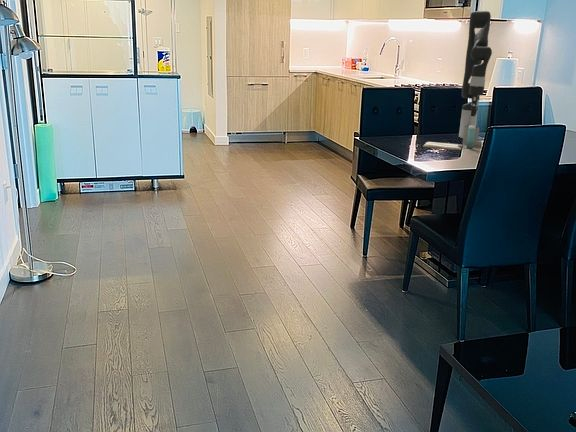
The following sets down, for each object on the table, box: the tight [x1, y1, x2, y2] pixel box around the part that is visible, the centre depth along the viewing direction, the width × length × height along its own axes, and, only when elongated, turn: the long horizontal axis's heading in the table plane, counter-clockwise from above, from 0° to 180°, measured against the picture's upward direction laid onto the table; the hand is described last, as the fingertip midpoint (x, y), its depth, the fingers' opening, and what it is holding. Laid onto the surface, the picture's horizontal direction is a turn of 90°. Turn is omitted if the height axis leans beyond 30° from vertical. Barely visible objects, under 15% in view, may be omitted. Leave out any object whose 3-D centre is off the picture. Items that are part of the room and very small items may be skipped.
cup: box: [462, 125, 480, 146], centre depth 326 cm, size 8×8×10 cm
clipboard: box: [422, 141, 464, 151], centre depth 316 cm, size 14×20×2 cm
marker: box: [466, 125, 477, 149], centre depth 312 cm, size 4×4×12 cm
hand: (473, 115), depth 309 cm, fingers open, 8 cm apart
